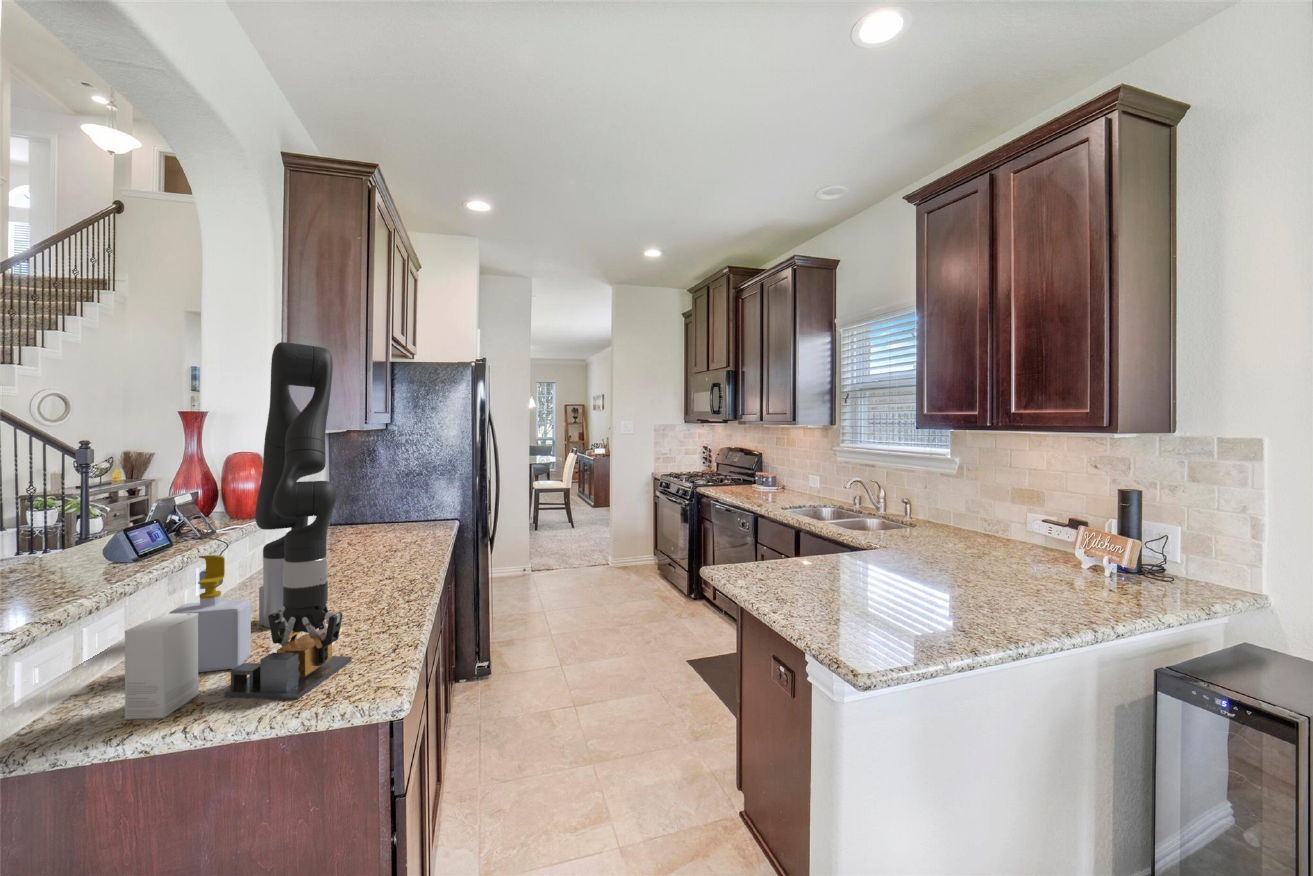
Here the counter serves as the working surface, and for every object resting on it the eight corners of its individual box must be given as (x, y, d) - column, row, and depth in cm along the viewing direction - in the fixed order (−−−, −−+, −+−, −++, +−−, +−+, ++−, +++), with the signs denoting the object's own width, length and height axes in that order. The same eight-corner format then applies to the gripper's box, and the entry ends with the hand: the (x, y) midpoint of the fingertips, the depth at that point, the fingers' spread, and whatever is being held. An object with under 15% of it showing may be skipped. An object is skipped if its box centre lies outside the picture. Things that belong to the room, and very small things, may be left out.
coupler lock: (277, 675, 102) (277, 650, 102) (305, 657, 110) (306, 633, 110) (305, 676, 102) (305, 650, 102) (332, 658, 110) (332, 634, 110)
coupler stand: (224, 697, 97) (224, 659, 97) (287, 659, 113) (287, 627, 113) (298, 699, 97) (297, 661, 97) (351, 661, 113) (351, 628, 113)
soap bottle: (165, 677, 105) (164, 560, 105) (183, 662, 111) (183, 552, 111) (238, 669, 109) (238, 556, 108) (252, 656, 115) (251, 549, 115)
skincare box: (164, 696, 98) (163, 612, 97) (202, 695, 98) (201, 611, 98) (122, 721, 89) (121, 629, 89) (164, 719, 90) (163, 629, 90)
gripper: (256, 585, 102) (256, 671, 103) (328, 587, 102) (328, 673, 102) (284, 574, 110) (284, 655, 110) (352, 576, 109) (352, 657, 110)
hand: (305, 663), depth 106 cm, fingers closed on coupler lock, 5 cm apart
